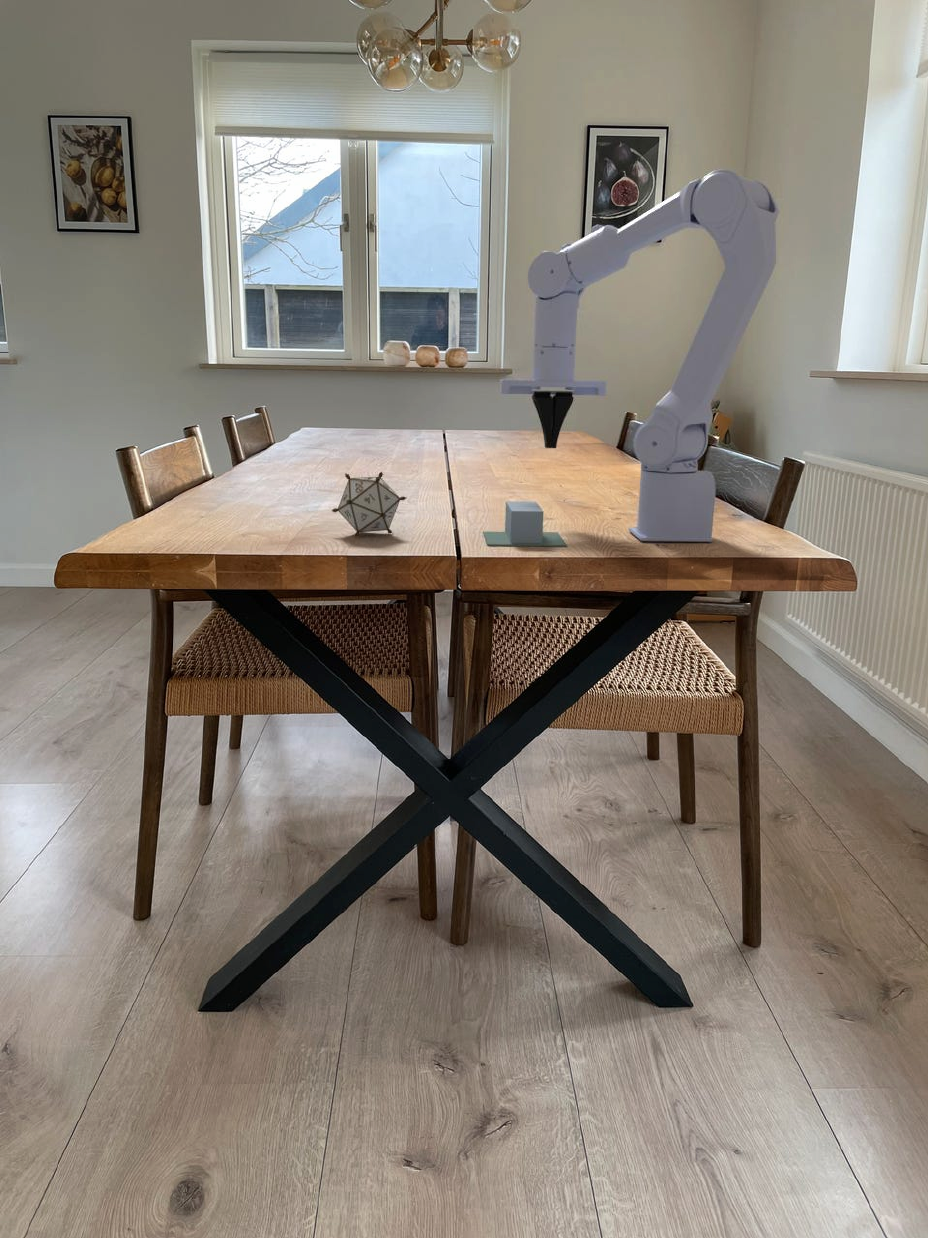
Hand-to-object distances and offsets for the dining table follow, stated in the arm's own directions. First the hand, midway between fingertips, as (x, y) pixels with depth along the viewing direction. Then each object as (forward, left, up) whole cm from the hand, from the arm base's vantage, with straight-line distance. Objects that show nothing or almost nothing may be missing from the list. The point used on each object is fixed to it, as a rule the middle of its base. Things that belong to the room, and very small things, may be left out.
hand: (550, 447), depth 133 cm
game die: (+25, +12, -11) cm, 30 cm away
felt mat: (+5, +15, -10) cm, 19 cm away
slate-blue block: (+5, +10, -8) cm, 14 cm away
